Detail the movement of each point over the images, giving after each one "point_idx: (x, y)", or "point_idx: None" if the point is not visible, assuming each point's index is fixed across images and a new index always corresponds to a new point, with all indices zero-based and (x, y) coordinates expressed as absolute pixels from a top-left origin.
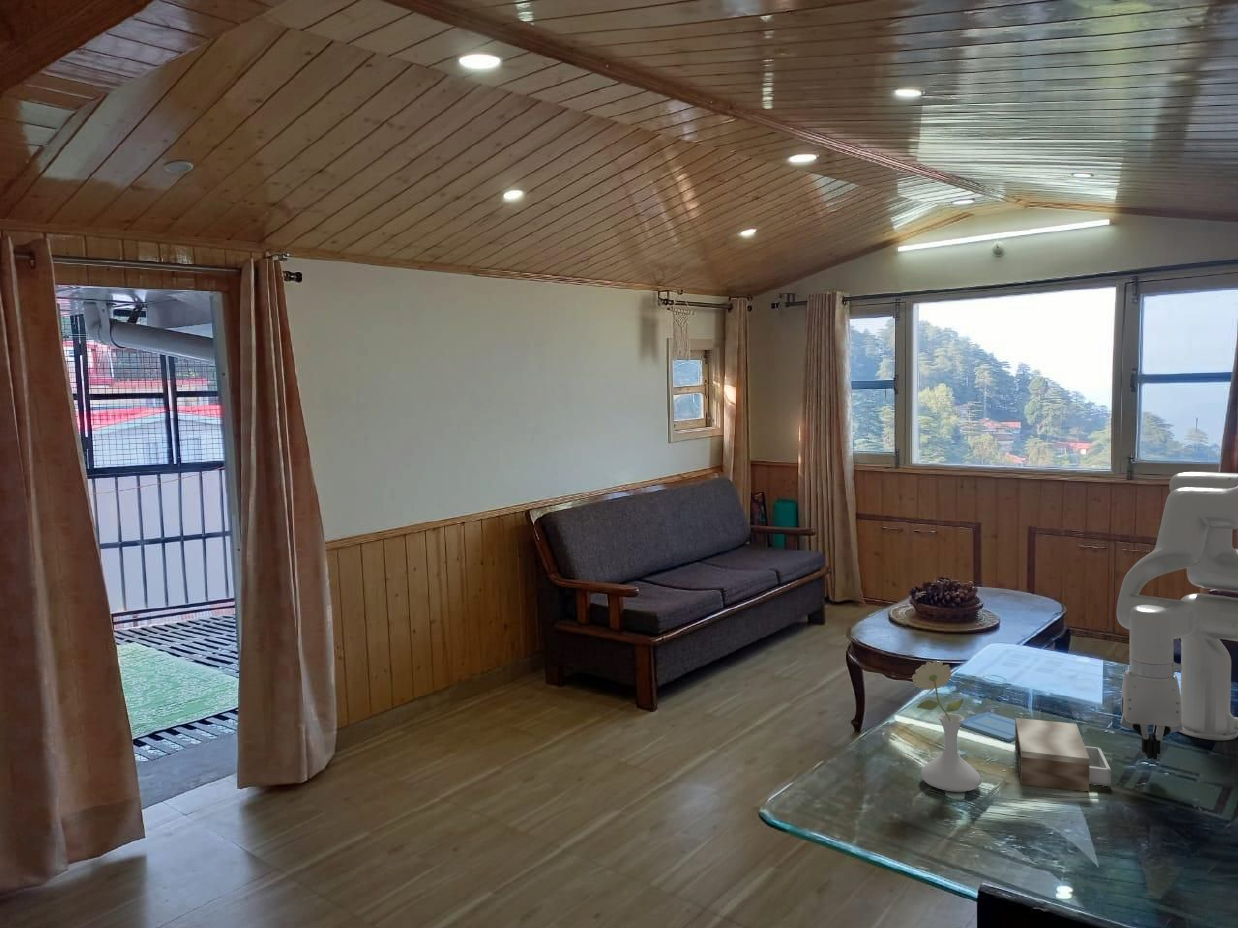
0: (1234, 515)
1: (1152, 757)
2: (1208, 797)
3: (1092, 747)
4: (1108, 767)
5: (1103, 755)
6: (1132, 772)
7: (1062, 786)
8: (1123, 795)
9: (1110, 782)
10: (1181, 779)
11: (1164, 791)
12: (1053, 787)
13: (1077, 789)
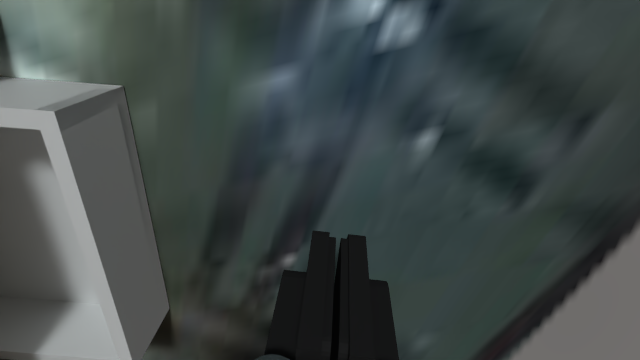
0: None
1: (333, 293)
2: (475, 327)
3: (9, 117)
4: (125, 352)
5: (91, 234)
6: (267, 164)
7: None
8: (205, 349)
9: (161, 322)
10: (463, 199)
11: None
12: None
13: None
